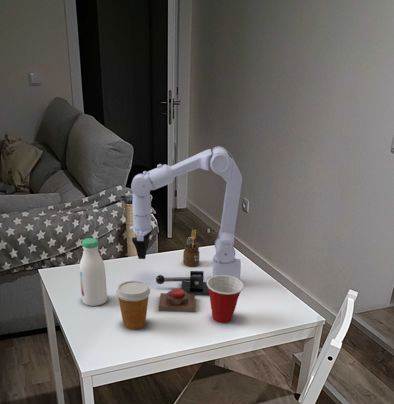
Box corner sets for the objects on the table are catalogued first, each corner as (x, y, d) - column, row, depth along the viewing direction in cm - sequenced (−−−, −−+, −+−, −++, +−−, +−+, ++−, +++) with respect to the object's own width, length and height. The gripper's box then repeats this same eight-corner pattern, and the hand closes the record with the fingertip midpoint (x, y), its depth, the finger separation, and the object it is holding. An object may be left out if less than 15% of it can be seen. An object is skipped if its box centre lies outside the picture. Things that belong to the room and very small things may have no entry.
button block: (194, 298, 159) (195, 289, 157) (194, 312, 151) (194, 302, 149) (160, 297, 158) (160, 288, 157) (158, 311, 151) (158, 301, 149)
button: (183, 293, 155) (184, 288, 154) (183, 299, 151) (183, 294, 150) (171, 293, 155) (171, 288, 154) (170, 298, 151) (170, 293, 150)
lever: (155, 285, 162) (155, 277, 160) (156, 281, 164) (155, 273, 163) (201, 285, 162) (200, 276, 160) (201, 281, 164) (200, 273, 163)
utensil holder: (181, 265, 181) (182, 234, 175) (185, 259, 186) (186, 229, 180) (197, 267, 180) (198, 236, 174) (200, 261, 185) (202, 230, 179)
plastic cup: (215, 331, 142) (218, 293, 136) (198, 314, 150) (199, 278, 144) (247, 323, 146) (251, 286, 140) (229, 307, 154) (231, 272, 148)
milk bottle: (112, 298, 157) (108, 238, 146) (98, 308, 151) (93, 246, 140) (91, 293, 159) (86, 234, 149) (77, 303, 153) (71, 242, 143)
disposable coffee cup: (118, 316, 147) (117, 280, 141) (150, 316, 148) (150, 280, 142) (116, 333, 139) (114, 295, 133) (150, 332, 140) (150, 295, 133)
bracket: (181, 294, 161) (181, 278, 158) (181, 284, 168) (182, 268, 164) (211, 295, 161) (212, 279, 158) (211, 285, 168) (211, 269, 165)
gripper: (132, 206, 162) (133, 245, 169) (126, 220, 150) (128, 262, 157) (153, 207, 162) (154, 246, 169) (149, 221, 150) (150, 263, 157)
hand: (143, 254), depth 163 cm, fingers open, 7 cm apart
